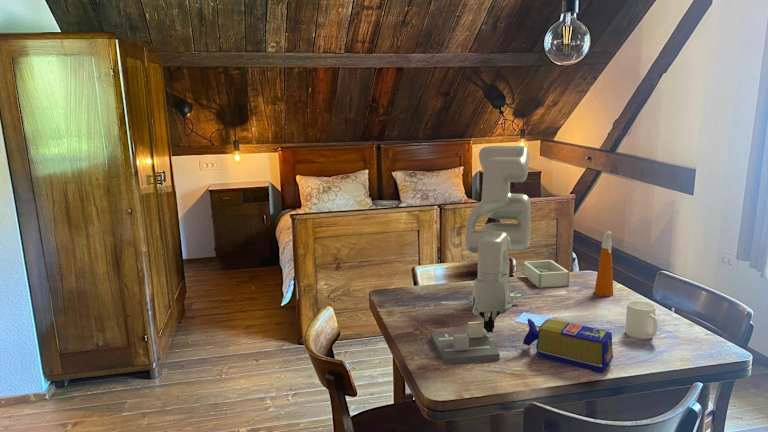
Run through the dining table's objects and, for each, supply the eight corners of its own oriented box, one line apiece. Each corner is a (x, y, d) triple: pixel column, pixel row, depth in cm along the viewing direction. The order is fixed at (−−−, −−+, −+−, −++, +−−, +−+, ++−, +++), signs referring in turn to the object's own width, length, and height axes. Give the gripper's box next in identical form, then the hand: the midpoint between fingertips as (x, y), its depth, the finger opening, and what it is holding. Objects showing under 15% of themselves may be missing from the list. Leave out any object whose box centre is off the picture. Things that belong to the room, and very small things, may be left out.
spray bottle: (597, 299, 206) (601, 232, 201) (592, 290, 216) (596, 226, 211) (616, 300, 204) (621, 233, 199) (611, 291, 215) (615, 227, 209)
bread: (605, 377, 148) (607, 342, 146) (519, 354, 162) (520, 322, 160) (614, 362, 156) (617, 329, 154) (532, 342, 170) (533, 311, 168)
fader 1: (465, 345, 164) (466, 332, 163) (468, 349, 161) (468, 336, 160) (453, 346, 163) (453, 333, 162) (455, 350, 160) (455, 337, 159)
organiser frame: (550, 272, 239) (550, 259, 238) (568, 285, 222) (569, 271, 221) (522, 274, 238) (522, 261, 237) (538, 287, 220) (539, 273, 219)
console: (481, 335, 176) (481, 329, 176) (499, 360, 159) (499, 353, 158) (430, 338, 174) (430, 332, 174) (443, 364, 157) (443, 358, 156)
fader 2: (480, 333, 172) (480, 320, 171) (483, 337, 169) (483, 324, 168) (468, 334, 172) (468, 321, 171) (470, 338, 169) (470, 325, 168)
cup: (641, 328, 179) (644, 299, 177) (667, 343, 167) (669, 312, 165) (619, 330, 177) (621, 301, 175) (643, 346, 166) (646, 315, 164)
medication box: (533, 277, 235) (533, 268, 234) (537, 275, 236) (537, 267, 236) (557, 283, 225) (557, 274, 225) (561, 282, 227) (561, 273, 226)
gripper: (508, 270, 172) (507, 324, 175) (463, 273, 170) (462, 327, 173) (517, 278, 164) (515, 333, 168) (470, 281, 162) (469, 337, 166)
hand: (488, 330), depth 171 cm, fingers closed
